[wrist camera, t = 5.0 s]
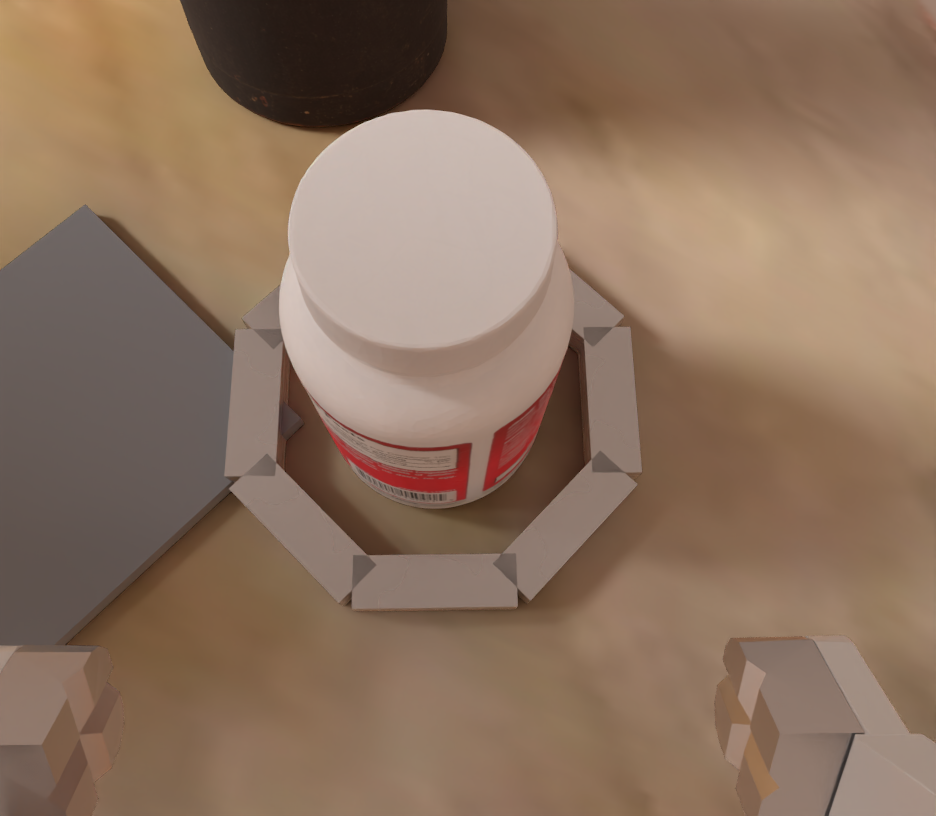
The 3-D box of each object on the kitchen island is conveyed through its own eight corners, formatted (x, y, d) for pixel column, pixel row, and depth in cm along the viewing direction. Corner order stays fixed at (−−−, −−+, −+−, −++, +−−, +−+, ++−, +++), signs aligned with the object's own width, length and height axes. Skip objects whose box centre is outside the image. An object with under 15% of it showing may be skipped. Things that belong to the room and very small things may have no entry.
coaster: (29, 677, 22) (17, 678, 21) (-180, 428, 24) (-196, 421, 23) (304, 423, 24) (300, 417, 24) (93, 214, 26) (85, 204, 26)
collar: (436, 701, 22) (435, 704, 21) (159, 413, 24) (144, 401, 23) (706, 408, 25) (718, 396, 23) (434, 173, 27) (433, 152, 26)
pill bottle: (495, 292, 26) (528, 35, 15) (568, 471, 24) (662, 323, 13) (306, 353, 25) (200, 126, 14) (367, 542, 23) (298, 444, 13)
